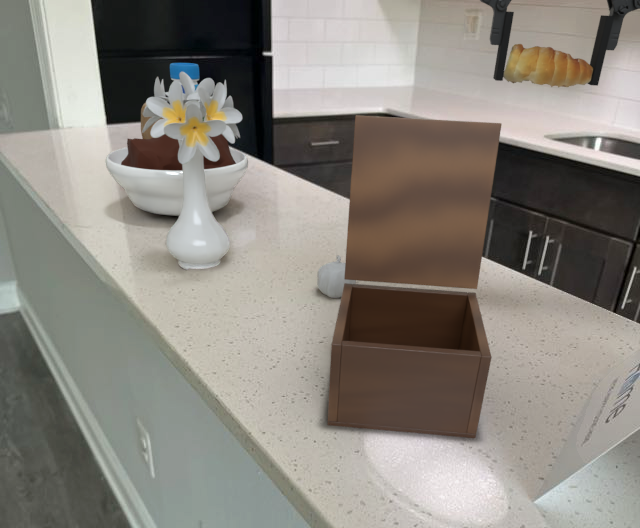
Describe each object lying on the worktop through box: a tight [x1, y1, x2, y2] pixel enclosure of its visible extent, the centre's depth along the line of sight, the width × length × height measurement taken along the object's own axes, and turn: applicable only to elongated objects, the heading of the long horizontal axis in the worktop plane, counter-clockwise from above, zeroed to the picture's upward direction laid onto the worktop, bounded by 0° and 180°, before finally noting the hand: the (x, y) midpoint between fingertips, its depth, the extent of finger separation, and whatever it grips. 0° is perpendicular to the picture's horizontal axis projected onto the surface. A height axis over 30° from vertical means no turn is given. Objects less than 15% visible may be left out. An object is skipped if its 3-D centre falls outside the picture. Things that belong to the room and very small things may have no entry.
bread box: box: [326, 283, 492, 439], centre depth 65 cm, size 15×14×9 cm
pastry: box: [503, 43, 593, 88], centre depth 73 cm, size 9×7×4 cm
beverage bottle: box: [169, 62, 200, 94], centre depth 158 cm, size 8×8×20 cm
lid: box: [344, 114, 502, 290], centre depth 65 cm, size 16×14×1 cm
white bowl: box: [104, 134, 249, 217], centre depth 118 cm, size 25×25×15 cm
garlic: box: [316, 254, 357, 299], centre depth 88 cm, size 6×5×5 cm
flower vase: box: [142, 72, 243, 271], centre depth 91 cm, size 13×18×25 cm
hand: (544, 81), depth 74 cm, fingers closed on pastry, 10 cm apart
